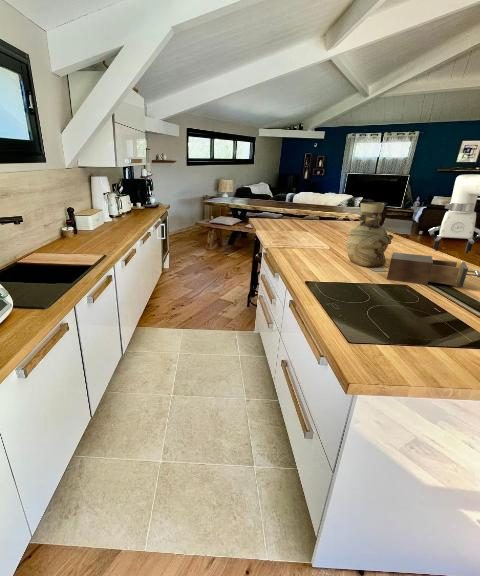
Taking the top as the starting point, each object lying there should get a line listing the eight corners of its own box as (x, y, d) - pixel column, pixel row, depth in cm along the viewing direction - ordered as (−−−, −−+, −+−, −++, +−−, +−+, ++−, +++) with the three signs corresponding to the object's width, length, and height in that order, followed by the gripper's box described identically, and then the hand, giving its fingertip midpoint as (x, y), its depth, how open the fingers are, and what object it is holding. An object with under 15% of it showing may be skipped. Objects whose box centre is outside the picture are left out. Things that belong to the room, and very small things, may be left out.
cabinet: (426, 277, 139) (432, 256, 136) (427, 285, 130) (433, 263, 126) (388, 272, 147) (392, 252, 144) (386, 279, 137) (391, 258, 134)
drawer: (474, 281, 130) (480, 263, 127) (478, 290, 121) (484, 270, 118) (420, 274, 140) (425, 257, 137) (421, 281, 131) (425, 264, 128)
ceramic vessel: (395, 269, 151) (409, 205, 140) (348, 267, 155) (358, 205, 145) (382, 259, 168) (394, 201, 158) (340, 257, 173) (348, 201, 162)
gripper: (434, 208, 123) (424, 251, 128) (493, 209, 114) (480, 255, 119) (433, 207, 129) (424, 247, 134) (489, 207, 119) (477, 251, 125)
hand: (450, 251), depth 127 cm, fingers open, 9 cm apart
